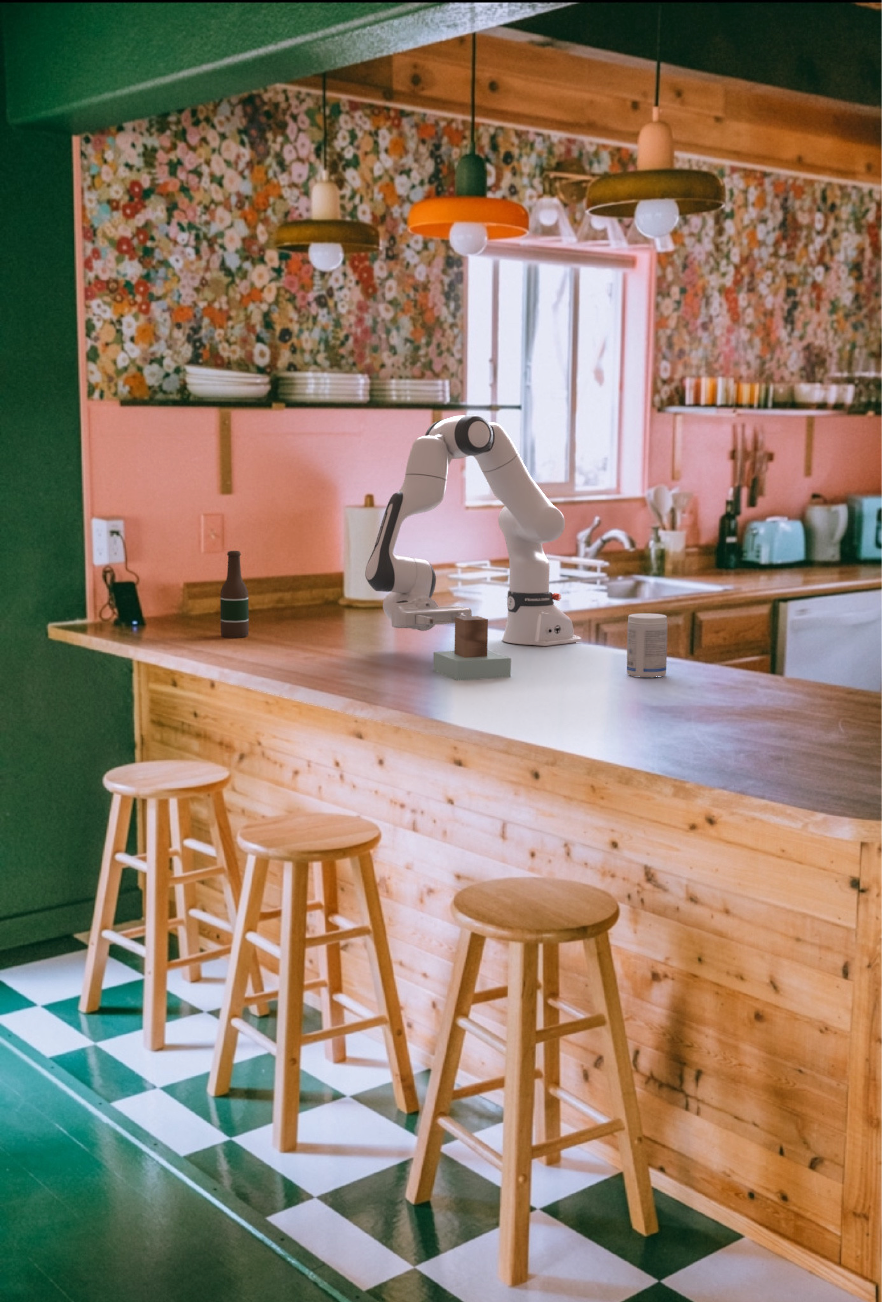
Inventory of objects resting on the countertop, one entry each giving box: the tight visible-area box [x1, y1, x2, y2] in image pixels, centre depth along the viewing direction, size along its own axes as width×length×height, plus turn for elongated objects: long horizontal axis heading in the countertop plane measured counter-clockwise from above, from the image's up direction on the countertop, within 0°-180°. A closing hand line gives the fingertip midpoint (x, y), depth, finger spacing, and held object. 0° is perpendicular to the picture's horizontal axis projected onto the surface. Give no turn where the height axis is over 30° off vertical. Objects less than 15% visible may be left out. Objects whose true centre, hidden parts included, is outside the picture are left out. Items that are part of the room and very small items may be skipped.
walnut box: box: [454, 615, 489, 658], centre depth 320 cm, size 6×6×9 cm
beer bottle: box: [219, 550, 250, 639], centre depth 372 cm, size 8×8×24 cm
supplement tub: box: [626, 612, 668, 677], centre depth 321 cm, size 10×10×15 cm
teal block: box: [432, 649, 512, 681], centre depth 321 cm, size 14×14×5 cm
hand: (447, 620), depth 330 cm, fingers open, 8 cm apart
